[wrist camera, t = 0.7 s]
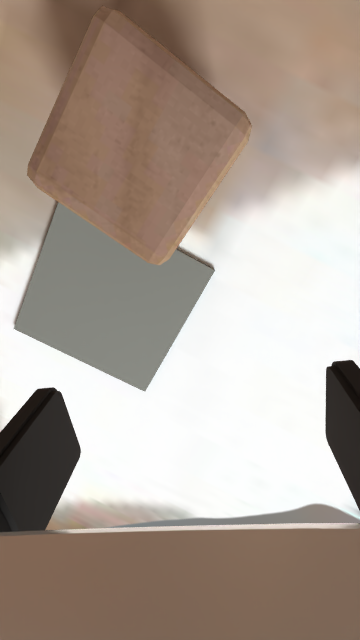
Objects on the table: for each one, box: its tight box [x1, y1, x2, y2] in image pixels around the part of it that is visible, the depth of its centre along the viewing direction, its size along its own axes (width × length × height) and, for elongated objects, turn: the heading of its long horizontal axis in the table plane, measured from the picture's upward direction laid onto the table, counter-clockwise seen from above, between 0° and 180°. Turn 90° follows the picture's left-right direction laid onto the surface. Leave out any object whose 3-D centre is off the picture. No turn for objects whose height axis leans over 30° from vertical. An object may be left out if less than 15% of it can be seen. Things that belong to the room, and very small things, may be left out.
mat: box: [14, 202, 215, 391], centre depth 42 cm, size 20×20×1 cm
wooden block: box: [27, 6, 252, 265], centre depth 27 cm, size 10×10×20 cm
